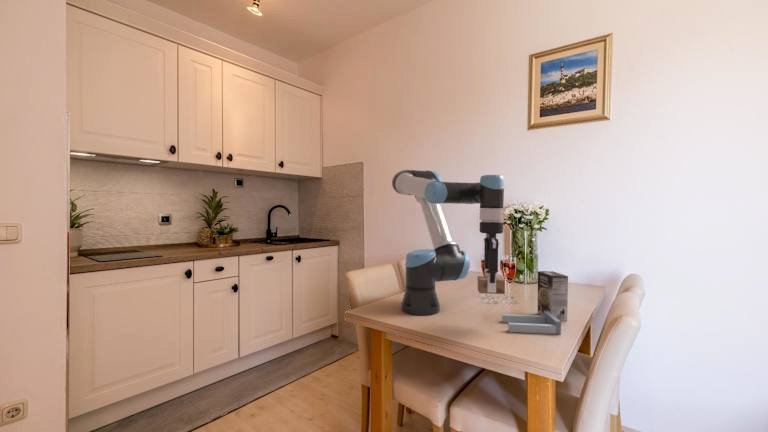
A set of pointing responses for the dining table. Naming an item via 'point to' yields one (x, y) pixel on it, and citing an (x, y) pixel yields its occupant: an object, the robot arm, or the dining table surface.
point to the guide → (533, 323)
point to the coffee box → (553, 294)
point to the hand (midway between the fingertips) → (490, 289)
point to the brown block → (483, 285)
